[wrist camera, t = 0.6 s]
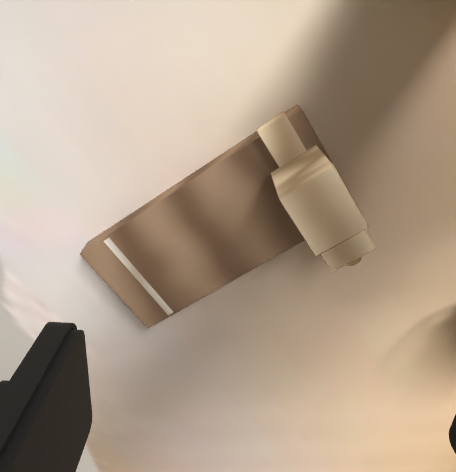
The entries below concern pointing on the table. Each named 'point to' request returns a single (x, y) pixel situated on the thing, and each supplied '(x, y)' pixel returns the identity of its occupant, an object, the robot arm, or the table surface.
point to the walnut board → (200, 231)
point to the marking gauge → (315, 197)
